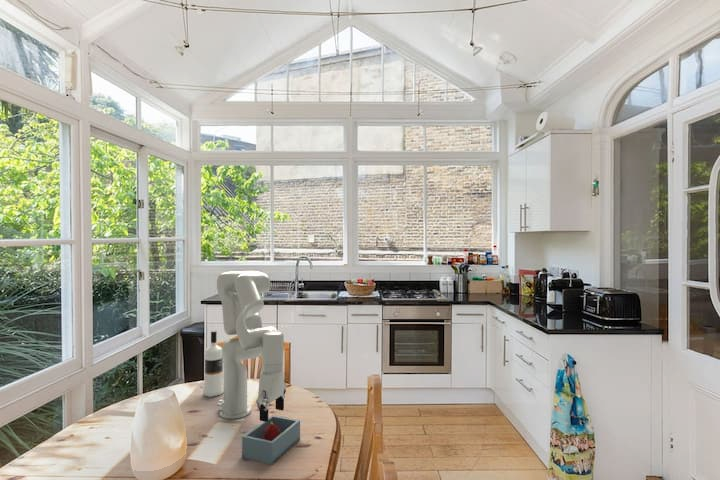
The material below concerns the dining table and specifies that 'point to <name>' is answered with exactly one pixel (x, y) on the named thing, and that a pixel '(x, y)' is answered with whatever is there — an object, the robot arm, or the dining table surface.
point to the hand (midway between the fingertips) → (272, 415)
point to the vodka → (213, 368)
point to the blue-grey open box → (270, 450)
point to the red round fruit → (271, 432)
